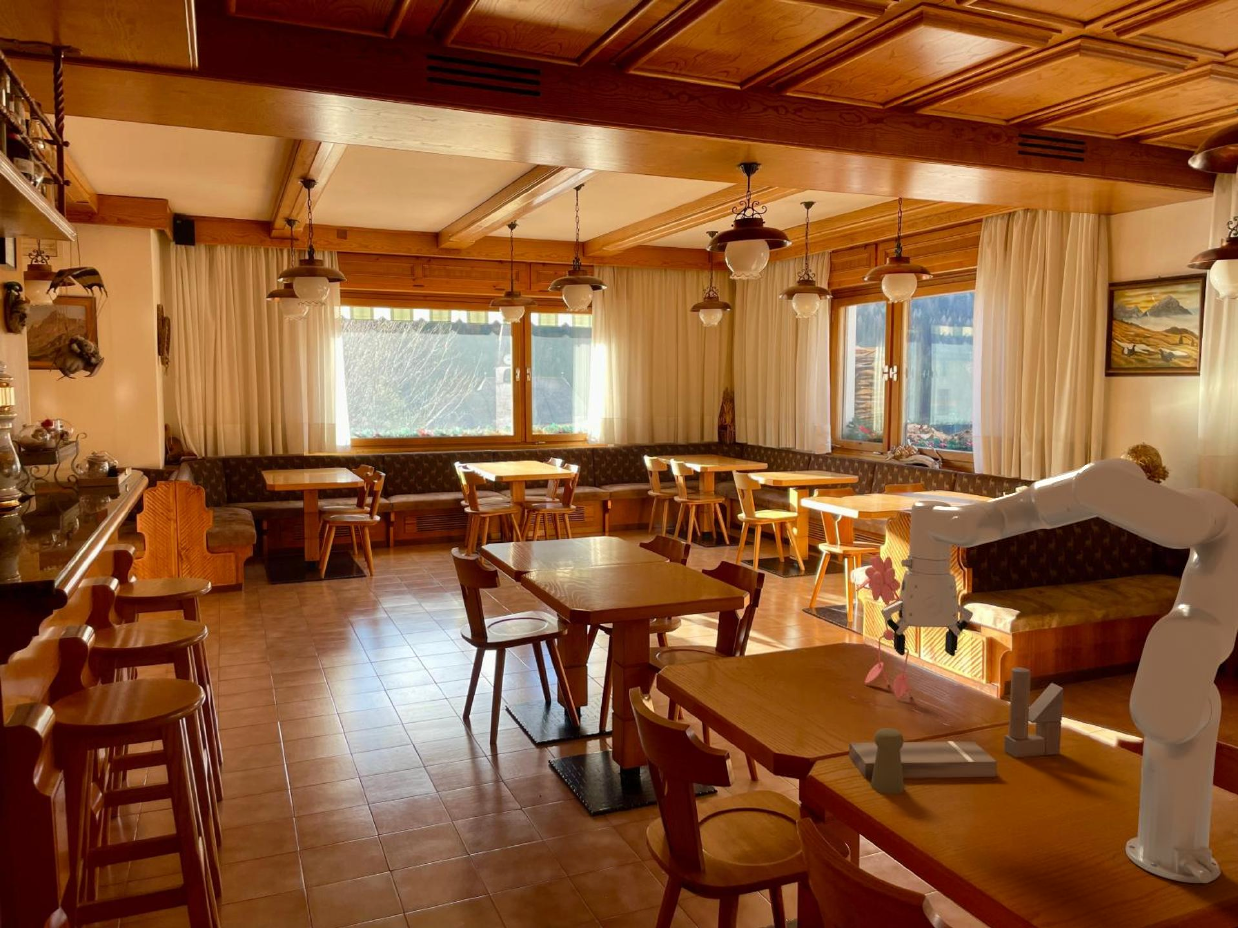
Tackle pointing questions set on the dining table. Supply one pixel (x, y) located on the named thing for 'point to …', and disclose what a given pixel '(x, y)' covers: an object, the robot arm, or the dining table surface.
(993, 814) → the dining table surface
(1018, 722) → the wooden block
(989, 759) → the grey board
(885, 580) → the pink wire flower
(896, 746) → the olive green peg figure
